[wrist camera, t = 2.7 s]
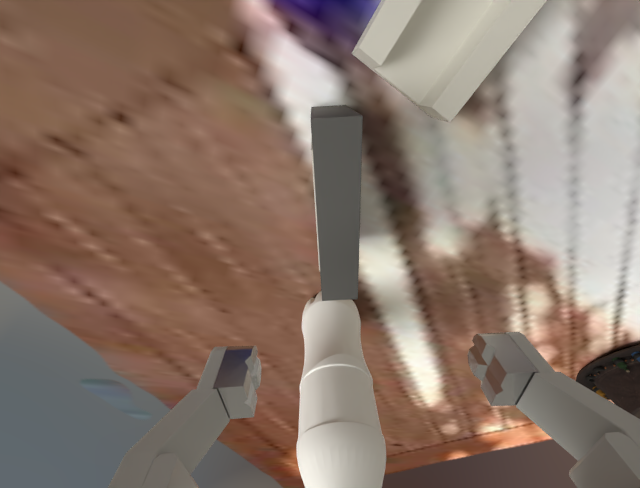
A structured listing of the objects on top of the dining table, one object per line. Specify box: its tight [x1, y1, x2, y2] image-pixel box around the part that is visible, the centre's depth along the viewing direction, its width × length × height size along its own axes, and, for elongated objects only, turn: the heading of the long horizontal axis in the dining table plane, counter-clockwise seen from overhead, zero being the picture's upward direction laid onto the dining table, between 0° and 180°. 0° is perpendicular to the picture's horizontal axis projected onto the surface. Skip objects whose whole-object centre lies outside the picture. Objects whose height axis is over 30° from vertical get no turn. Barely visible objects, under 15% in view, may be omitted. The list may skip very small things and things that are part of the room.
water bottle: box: [297, 291, 386, 488], centre depth 25 cm, size 7×7×25 cm
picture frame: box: [311, 105, 363, 301], centre depth 23 cm, size 3×14×10 cm, turn 3°
